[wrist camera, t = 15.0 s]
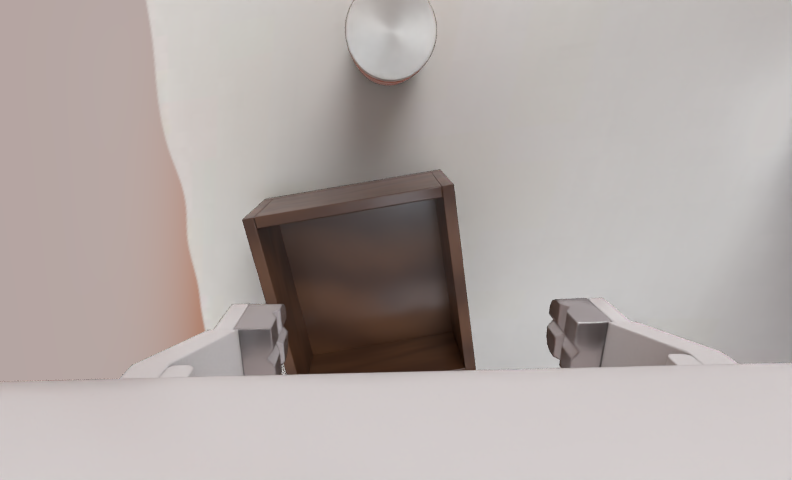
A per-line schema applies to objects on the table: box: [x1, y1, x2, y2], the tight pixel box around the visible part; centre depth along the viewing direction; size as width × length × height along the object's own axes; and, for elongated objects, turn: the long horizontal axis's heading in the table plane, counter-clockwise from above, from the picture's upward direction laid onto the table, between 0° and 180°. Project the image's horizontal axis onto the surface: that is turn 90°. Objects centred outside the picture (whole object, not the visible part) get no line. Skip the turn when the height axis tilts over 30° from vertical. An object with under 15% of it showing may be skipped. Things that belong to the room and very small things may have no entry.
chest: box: [242, 169, 476, 375], centre depth 37 cm, size 17×16×7 cm
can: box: [345, 0, 437, 85], centre depth 30 cm, size 6×6×9 cm
